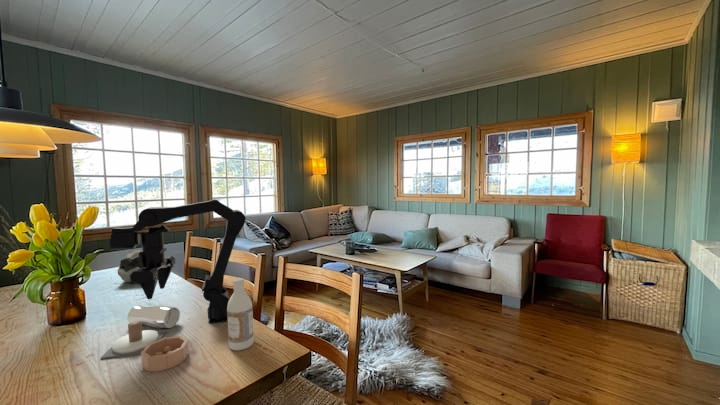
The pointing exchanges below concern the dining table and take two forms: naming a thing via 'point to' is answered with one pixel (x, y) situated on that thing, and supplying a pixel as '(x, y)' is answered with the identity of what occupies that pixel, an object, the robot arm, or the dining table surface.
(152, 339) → the lid
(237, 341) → the bath foam
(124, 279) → the rock
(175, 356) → the bowl
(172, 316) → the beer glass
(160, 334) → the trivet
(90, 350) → the dining table surface
